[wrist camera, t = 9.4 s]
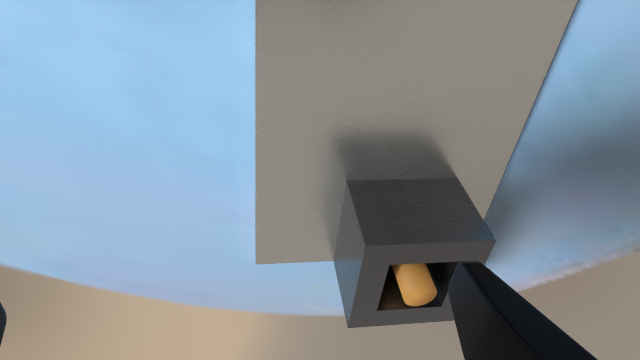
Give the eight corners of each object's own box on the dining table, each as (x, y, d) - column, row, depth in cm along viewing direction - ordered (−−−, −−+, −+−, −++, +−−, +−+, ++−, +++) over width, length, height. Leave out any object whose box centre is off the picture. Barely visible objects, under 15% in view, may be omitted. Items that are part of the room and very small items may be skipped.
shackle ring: (457, 178, 23) (495, 240, 20) (430, 256, 27) (458, 319, 24) (346, 180, 22) (365, 245, 19) (333, 260, 26) (347, 327, 23)
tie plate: (643, -183, 15) (734, -184, 12) (465, 247, 28) (490, 294, 25) (255, -234, 13) (258, -249, 10) (255, 256, 26) (257, 308, 23)
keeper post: (409, 210, 24) (440, 283, 21) (403, 231, 25) (432, 304, 22) (380, 211, 24) (407, 285, 20) (375, 232, 25) (400, 307, 21)
